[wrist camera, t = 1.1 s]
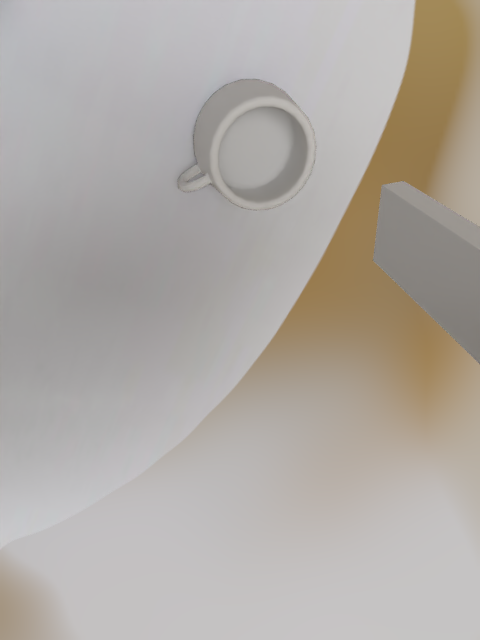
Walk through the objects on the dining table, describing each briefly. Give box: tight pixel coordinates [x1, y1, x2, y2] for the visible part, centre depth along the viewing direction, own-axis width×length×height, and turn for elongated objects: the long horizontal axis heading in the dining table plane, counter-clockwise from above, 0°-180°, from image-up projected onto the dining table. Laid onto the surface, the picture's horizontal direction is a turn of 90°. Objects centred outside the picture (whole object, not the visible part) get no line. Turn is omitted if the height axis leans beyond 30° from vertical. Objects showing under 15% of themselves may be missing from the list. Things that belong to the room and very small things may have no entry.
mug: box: [178, 79, 316, 210], centre depth 36 cm, size 12×10×6 cm
